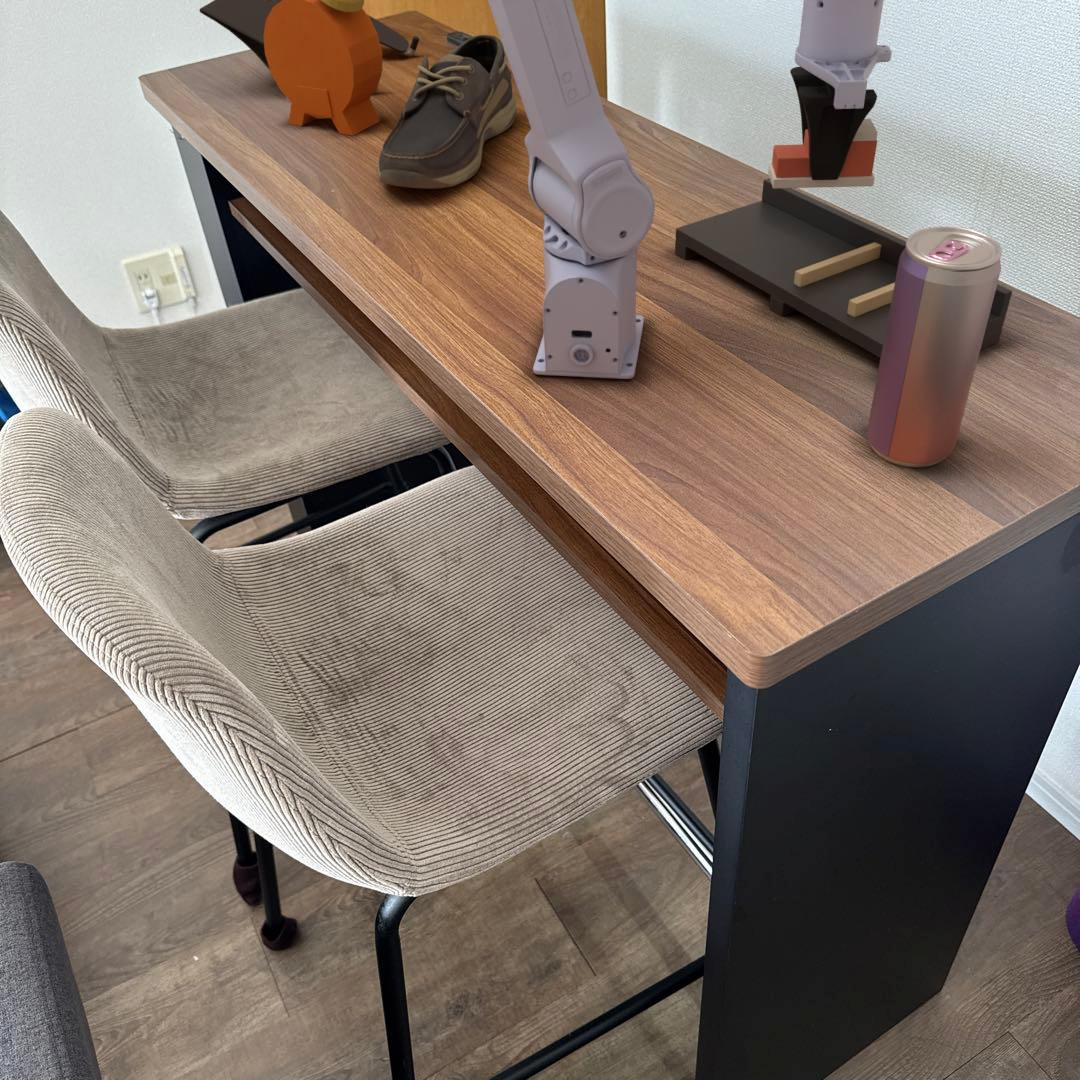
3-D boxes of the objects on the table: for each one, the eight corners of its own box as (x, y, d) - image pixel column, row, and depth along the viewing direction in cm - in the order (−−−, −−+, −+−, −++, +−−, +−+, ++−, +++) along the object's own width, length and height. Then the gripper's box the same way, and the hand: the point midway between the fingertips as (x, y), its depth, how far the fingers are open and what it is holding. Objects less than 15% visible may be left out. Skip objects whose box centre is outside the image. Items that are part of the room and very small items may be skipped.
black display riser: (998, 342, 84) (1013, 290, 81) (899, 385, 80) (910, 333, 77) (765, 223, 103) (769, 177, 100) (674, 253, 99) (676, 207, 96)
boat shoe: (355, 203, 111) (338, 98, 104) (441, 108, 132) (431, 15, 125) (455, 209, 108) (444, 102, 101) (525, 111, 130) (520, 17, 123)
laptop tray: (351, 147, 139) (371, 83, 133) (189, 61, 137) (202, -9, 130) (407, 89, 156) (427, 30, 150) (264, 11, 153) (279, -52, 147)
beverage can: (848, 447, 75) (884, 248, 65) (894, 412, 78) (934, 216, 68) (925, 482, 71) (974, 277, 61) (969, 443, 74) (1023, 242, 64)
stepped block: (865, 170, 88) (874, 117, 85) (873, 186, 85) (882, 132, 82) (768, 172, 88) (773, 120, 85) (772, 188, 86) (778, 135, 83)
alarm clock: (393, 121, 129) (369, -64, 116) (362, 138, 125) (333, -52, 112) (309, 106, 135) (277, -72, 122) (277, 122, 131) (240, -61, 118)
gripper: (923, 11, 72) (888, 205, 80) (881, -40, 83) (855, 136, 91) (817, 15, 72) (794, 207, 81) (790, -36, 83) (772, 138, 92)
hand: (821, 170), depth 86 cm, fingers closed on stepped block, 3 cm apart
